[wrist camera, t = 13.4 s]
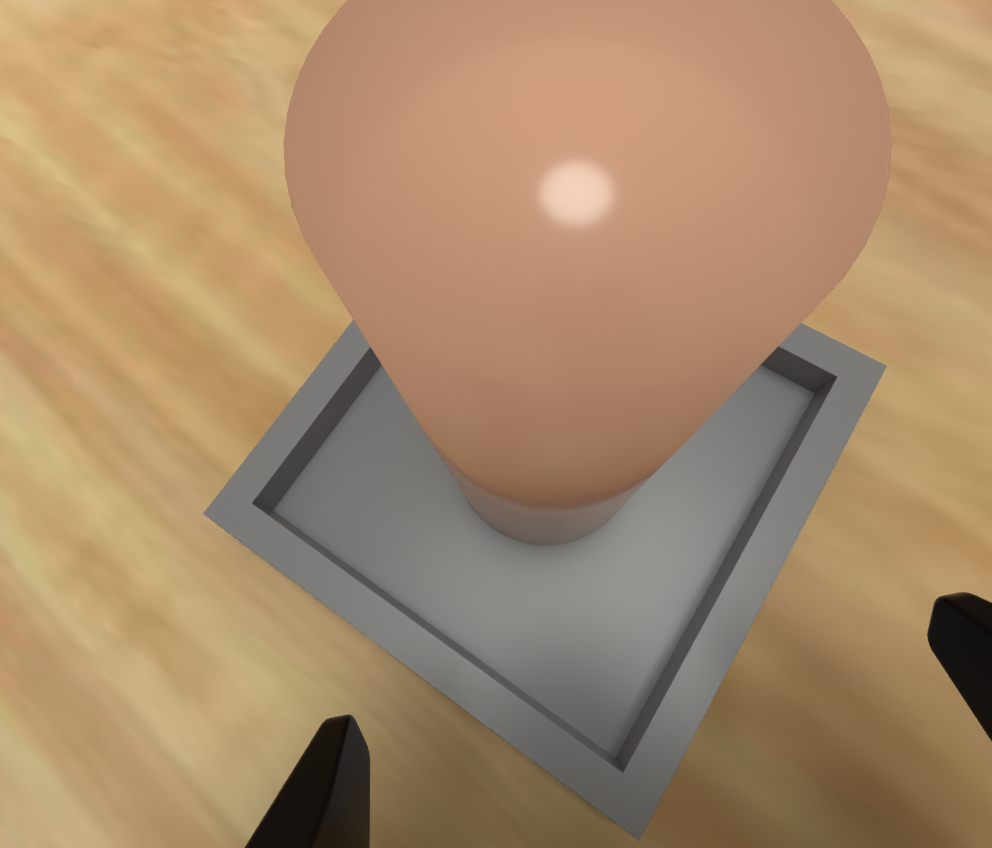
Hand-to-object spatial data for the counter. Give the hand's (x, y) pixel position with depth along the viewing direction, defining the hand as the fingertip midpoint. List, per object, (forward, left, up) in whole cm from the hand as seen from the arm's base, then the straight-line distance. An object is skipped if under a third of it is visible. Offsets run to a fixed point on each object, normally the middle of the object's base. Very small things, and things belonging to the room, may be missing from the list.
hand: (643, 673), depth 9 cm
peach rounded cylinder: (+4, +4, -8) cm, 9 cm away
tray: (+4, +4, -8) cm, 10 cm away
